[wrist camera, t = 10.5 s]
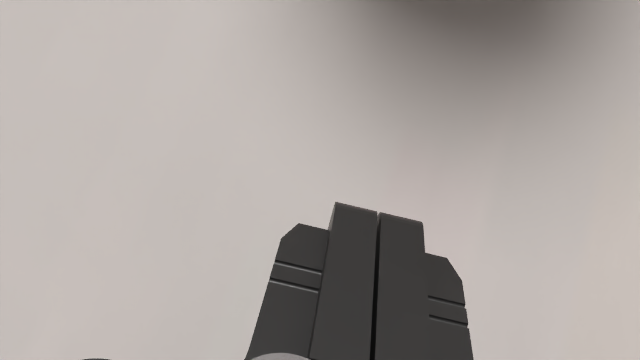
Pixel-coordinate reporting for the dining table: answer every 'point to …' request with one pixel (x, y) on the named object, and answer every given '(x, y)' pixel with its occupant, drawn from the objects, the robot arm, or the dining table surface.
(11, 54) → the dining table surface
